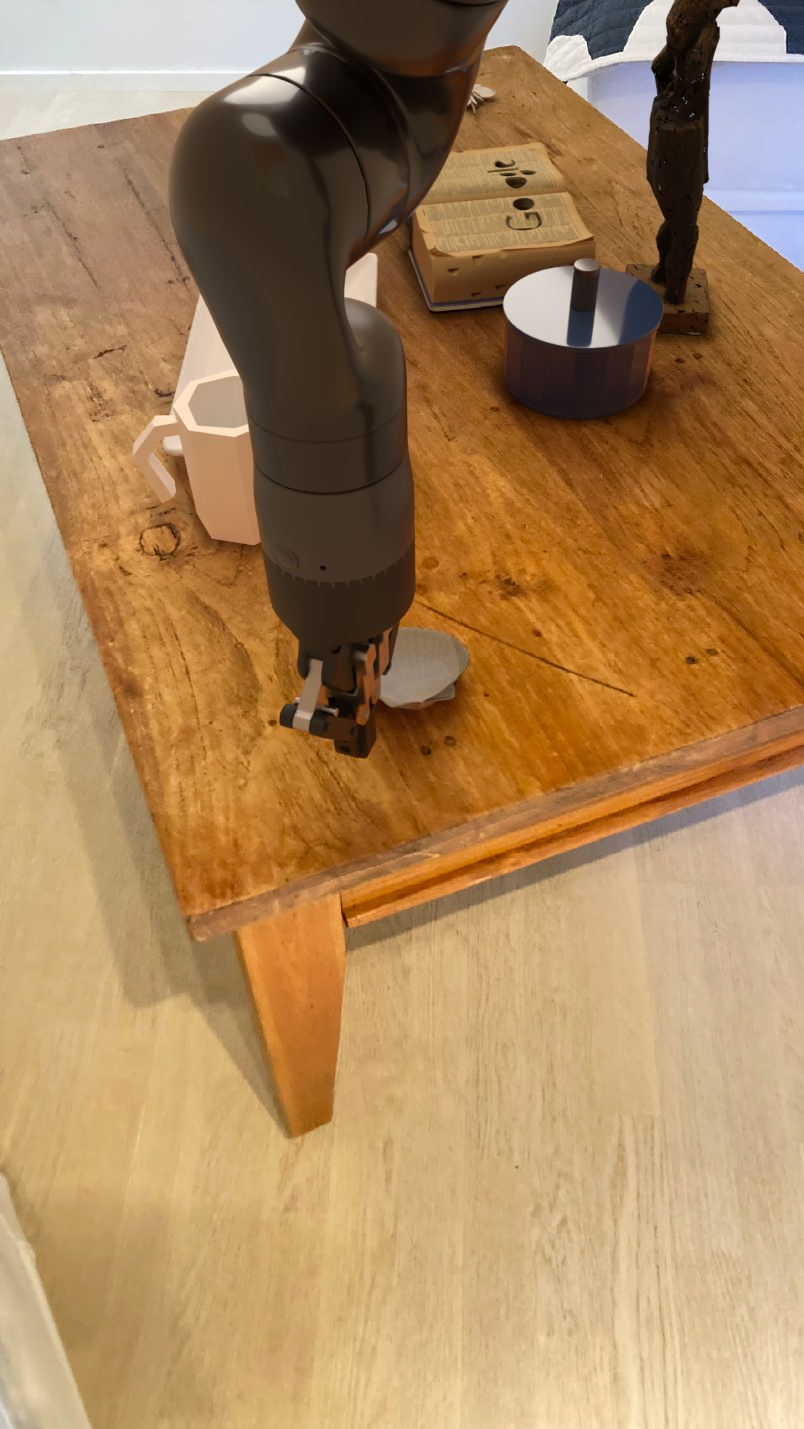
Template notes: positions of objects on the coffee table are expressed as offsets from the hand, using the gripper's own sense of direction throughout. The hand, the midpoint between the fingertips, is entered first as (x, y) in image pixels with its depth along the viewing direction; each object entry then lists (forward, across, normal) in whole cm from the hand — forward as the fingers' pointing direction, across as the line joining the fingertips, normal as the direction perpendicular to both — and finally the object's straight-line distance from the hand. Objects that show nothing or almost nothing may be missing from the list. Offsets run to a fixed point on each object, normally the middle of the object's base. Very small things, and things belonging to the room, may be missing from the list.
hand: (356, 746), depth 64 cm
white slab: (+3, +40, +24) cm, 46 cm away
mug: (+3, +20, +20) cm, 29 cm away
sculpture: (+3, +61, -6) cm, 62 cm away
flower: (+3, +103, +28) cm, 107 cm away
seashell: (+3, +8, 0) cm, 9 cm away
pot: (+3, +47, -1) cm, 47 cm away
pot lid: (-4, +47, -1) cm, 47 cm away
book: (+3, +68, +14) cm, 70 cm away
